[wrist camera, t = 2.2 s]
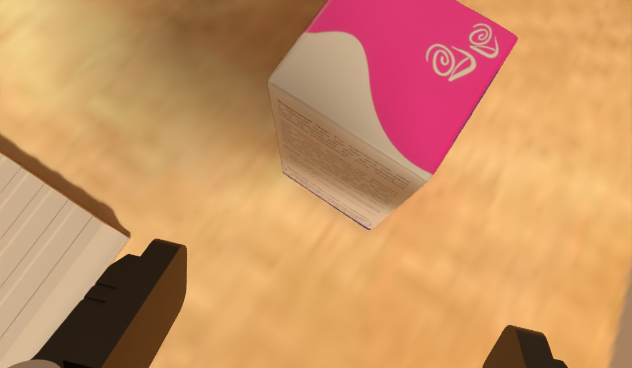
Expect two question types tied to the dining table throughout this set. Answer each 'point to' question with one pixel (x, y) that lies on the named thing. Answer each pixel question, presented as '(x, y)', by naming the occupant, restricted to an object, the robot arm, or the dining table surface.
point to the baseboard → (44, 259)
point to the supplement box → (380, 97)
